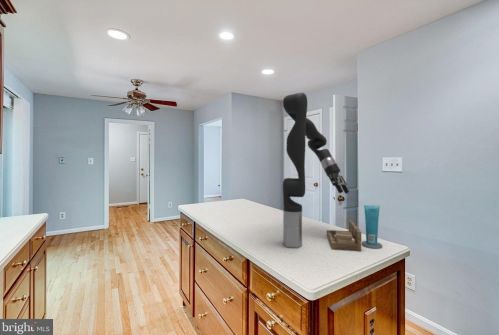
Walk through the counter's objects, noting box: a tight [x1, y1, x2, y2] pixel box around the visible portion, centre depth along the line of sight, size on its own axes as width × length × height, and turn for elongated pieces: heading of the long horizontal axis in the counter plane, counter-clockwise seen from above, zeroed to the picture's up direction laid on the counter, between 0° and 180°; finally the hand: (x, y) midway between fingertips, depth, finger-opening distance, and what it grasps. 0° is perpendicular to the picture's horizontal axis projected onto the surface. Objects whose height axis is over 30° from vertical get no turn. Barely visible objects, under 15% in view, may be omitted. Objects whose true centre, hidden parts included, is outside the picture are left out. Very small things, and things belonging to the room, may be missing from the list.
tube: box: [363, 204, 381, 245], centre depth 123 cm, size 7×5×19 cm, turn 94°
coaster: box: [361, 240, 383, 250], centre depth 124 cm, size 9×9×1 cm
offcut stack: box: [334, 230, 355, 243], centre depth 124 cm, size 9×9×6 cm
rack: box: [326, 219, 362, 252], centre depth 128 cm, size 22×13×9 cm, turn 169°
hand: (344, 192), depth 132 cm, fingers open, 8 cm apart
